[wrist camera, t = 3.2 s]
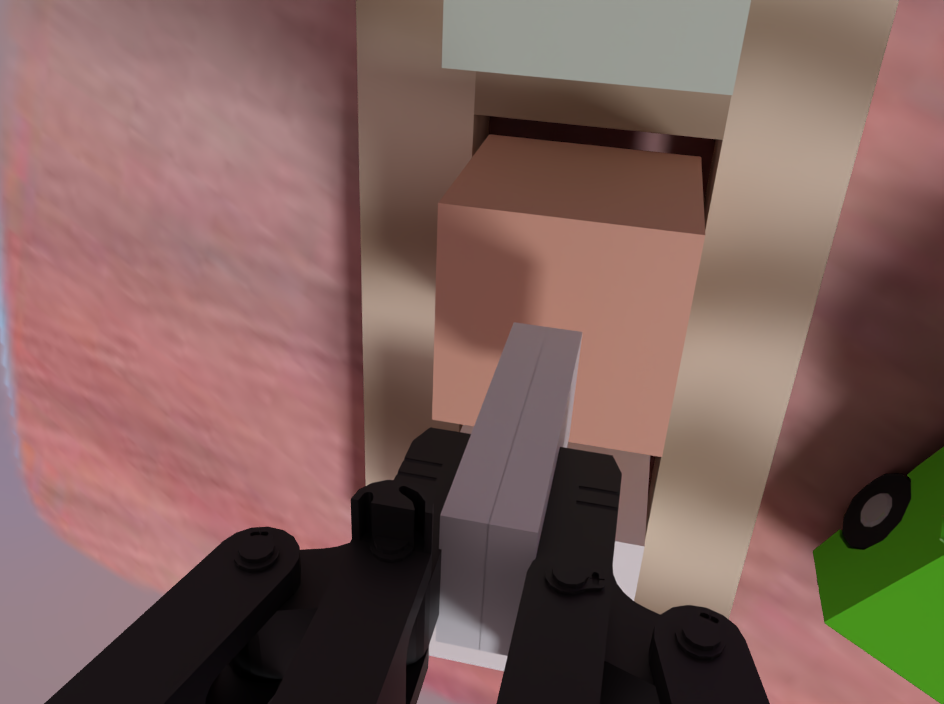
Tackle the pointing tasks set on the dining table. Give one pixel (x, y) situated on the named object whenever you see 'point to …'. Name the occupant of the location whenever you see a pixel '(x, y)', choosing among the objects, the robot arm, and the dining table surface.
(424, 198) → the board
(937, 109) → the dining table surface
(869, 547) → the toy car
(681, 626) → the robot arm
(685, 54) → the sage button
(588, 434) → the terracotta button
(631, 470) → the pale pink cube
